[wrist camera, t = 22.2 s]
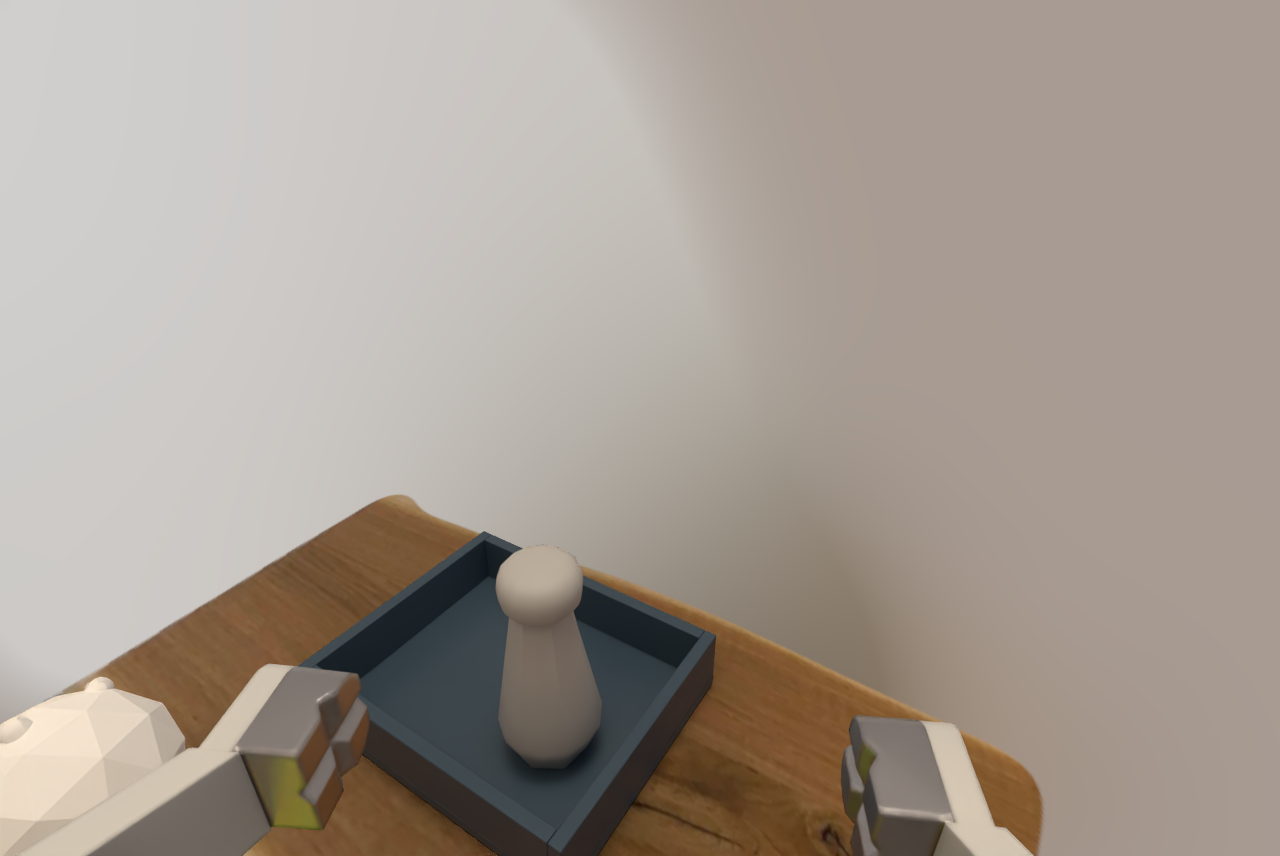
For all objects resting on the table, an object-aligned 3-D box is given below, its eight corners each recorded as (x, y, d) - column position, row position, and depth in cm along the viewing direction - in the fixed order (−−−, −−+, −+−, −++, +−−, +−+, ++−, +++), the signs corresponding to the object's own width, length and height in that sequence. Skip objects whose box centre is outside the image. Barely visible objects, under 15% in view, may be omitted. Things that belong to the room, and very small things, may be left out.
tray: (712, 683, 44) (716, 634, 42) (564, 905, 32) (560, 852, 30) (489, 574, 53) (483, 530, 51) (311, 717, 41) (295, 667, 39)
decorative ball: (75, 783, 40) (98, 614, 37) (206, 880, 38) (244, 707, 34) (-132, 905, 32) (-124, 700, 29) (19, 1040, 29) (46, 831, 26)
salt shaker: (623, 734, 40) (622, 560, 33) (551, 806, 36) (535, 624, 30) (554, 682, 43) (541, 515, 37) (481, 743, 39) (454, 567, 33)
